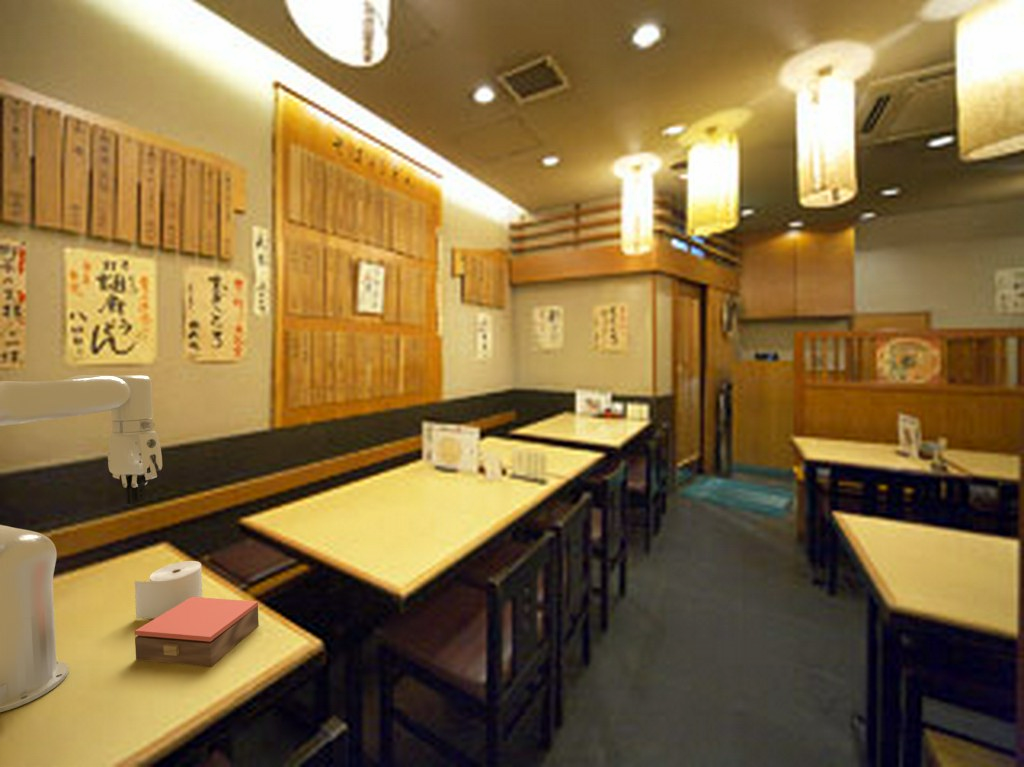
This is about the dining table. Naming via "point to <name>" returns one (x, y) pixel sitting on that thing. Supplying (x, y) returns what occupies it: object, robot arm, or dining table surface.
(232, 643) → the walnut box
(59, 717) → the dining table surface
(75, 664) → the dining table surface
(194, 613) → the lid
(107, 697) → the dining table surface
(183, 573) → the toilet tissue
